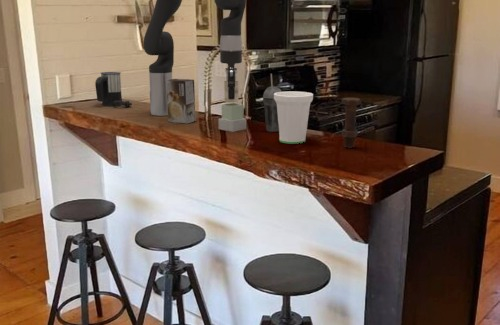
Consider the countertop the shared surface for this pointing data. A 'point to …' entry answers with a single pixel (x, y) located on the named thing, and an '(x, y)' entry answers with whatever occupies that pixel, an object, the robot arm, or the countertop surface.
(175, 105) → the coffee box
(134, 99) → the countertop surface
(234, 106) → the sage cube
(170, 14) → the robot arm
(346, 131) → the bolt
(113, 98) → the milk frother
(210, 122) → the countertop surface
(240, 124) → the slab
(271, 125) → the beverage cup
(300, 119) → the cup
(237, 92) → the birch block
